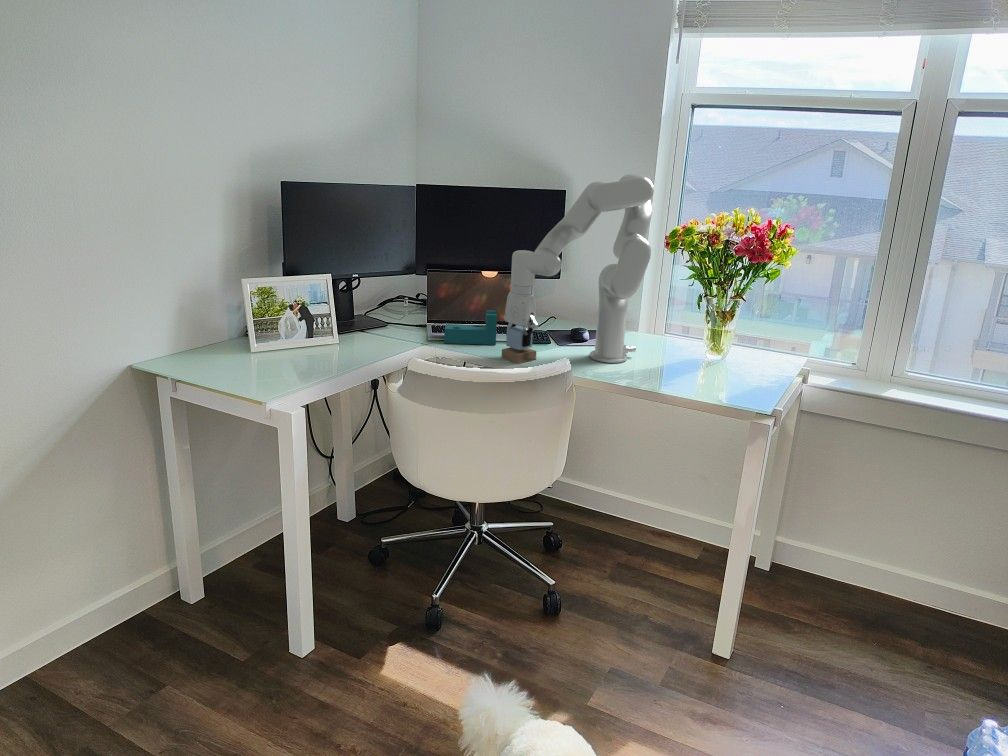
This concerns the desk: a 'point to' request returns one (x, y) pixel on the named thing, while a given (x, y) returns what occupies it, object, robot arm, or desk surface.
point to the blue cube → (516, 338)
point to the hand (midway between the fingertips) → (519, 343)
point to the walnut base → (519, 355)
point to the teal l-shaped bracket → (473, 332)
